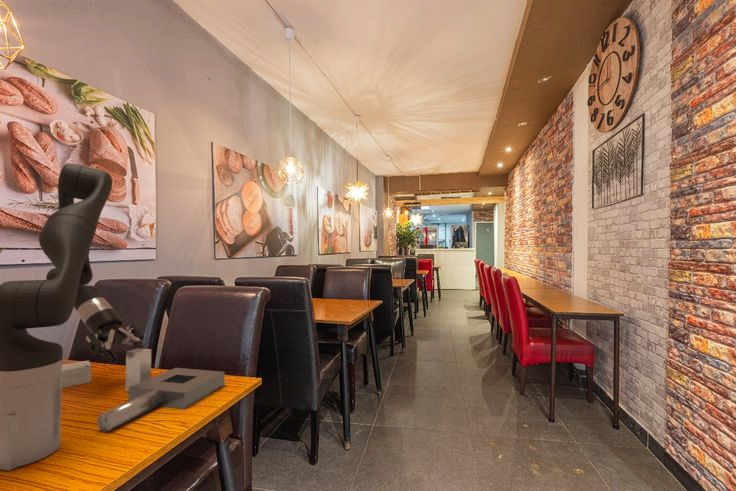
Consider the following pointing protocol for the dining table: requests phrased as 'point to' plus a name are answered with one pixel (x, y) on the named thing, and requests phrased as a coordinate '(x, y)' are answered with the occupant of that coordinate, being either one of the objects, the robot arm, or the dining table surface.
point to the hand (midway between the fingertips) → (129, 357)
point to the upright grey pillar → (137, 366)
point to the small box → (76, 373)
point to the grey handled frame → (163, 394)
